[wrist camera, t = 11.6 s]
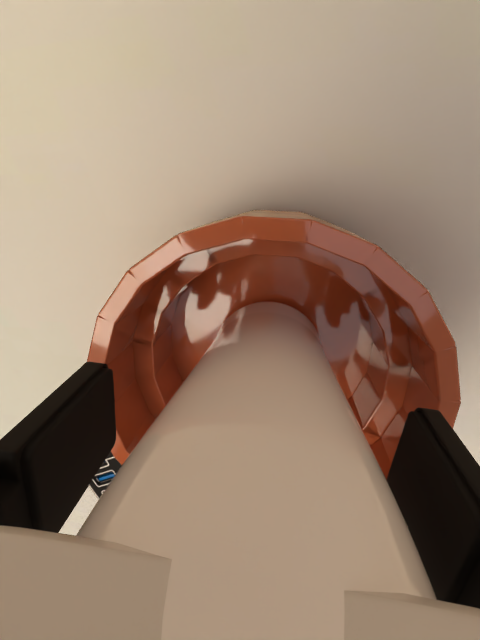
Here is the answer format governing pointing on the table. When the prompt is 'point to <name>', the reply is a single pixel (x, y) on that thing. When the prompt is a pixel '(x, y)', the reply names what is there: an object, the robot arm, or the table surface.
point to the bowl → (287, 288)
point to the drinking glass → (260, 492)
